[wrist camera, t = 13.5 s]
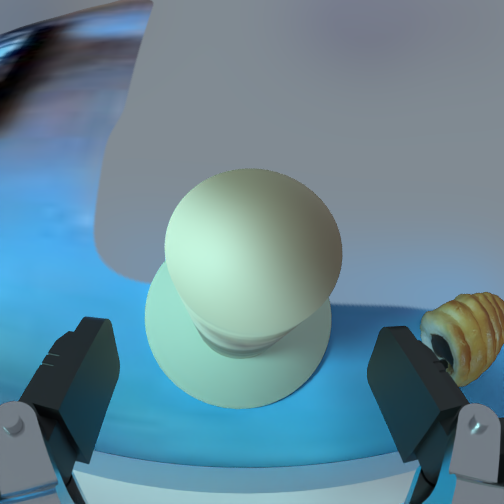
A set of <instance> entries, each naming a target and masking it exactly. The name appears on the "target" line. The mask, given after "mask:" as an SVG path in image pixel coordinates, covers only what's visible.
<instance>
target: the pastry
mask: <svg viewBox="0 0 504 504" xmlns="http://www.w3.org/2000/svg"><path fill="white" fill-rule="evenodd" d="M420 329H421V339H422V343H424V344H425V345H426V346H428V347H429V348H430V349H432V351H433V352H434V353H435V355H436V356H437V357H438V359H439V360H440V363H442V364H443V366H444V367H445V369H446V372H448V373H449V374H450V376H451V377H452V378H453V380H454V381H455V383H456V384H457V386H458V387H462V386H466V385H468V384H469V383H471V382H472V381H474V380H476V379H478V377H479V376H480V375H481V374H482V373H483V372H484V371H486V370H487V369H488V368H489V367H490V366H491V364H492V363H493V362H494V361H495V359H496V356H497V355H498V353H499V352H500V350H501V347H502V345H503V344H504V301H503V300H502V299H501V298H499V297H498V296H497V295H494V294H491V293H488V292H484V293H475V294H472V295H470V294H460V295H458V296H457V297H456V298H455V299H454V300H452V301H449V302H447V303H445V304H443V305H441V306H440V307H439V308H437V309H435V310H433V311H427V312H426V313H425V314H424V315H423V317H422V320H421V325H420Z"/></svg>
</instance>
